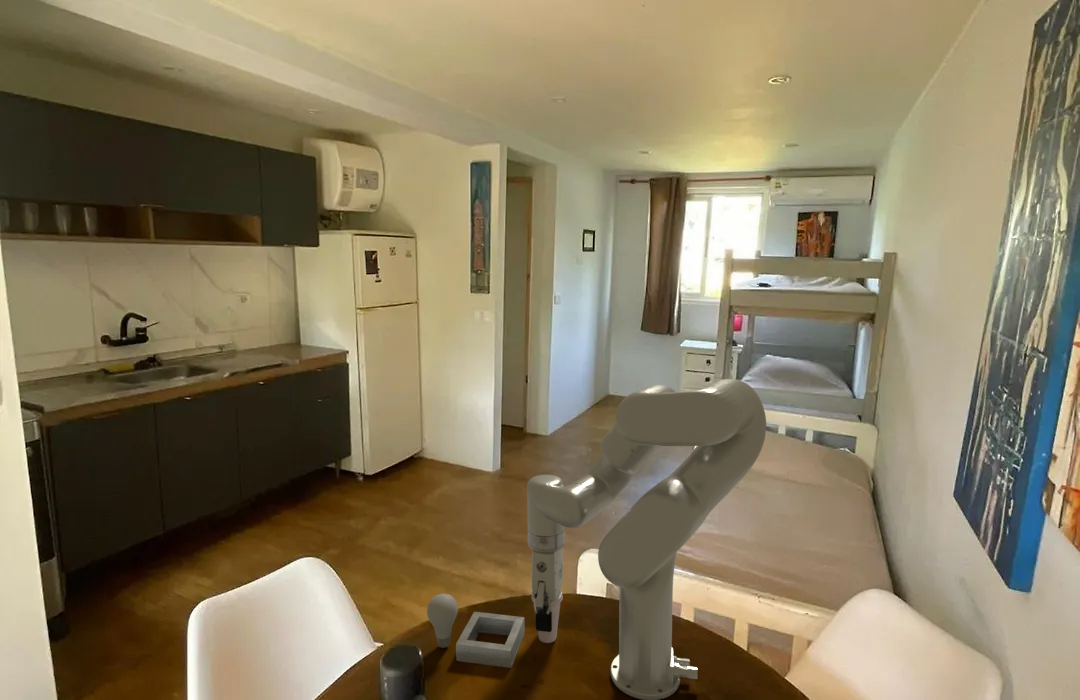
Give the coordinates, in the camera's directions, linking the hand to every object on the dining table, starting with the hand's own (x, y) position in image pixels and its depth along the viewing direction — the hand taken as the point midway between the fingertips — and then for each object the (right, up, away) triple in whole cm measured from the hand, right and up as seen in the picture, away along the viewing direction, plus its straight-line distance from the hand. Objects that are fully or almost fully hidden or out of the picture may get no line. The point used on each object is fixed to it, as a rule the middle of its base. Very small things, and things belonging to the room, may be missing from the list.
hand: (547, 619), depth 115 cm
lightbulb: (-21, -5, -2) cm, 22 cm away
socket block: (-11, -4, -2) cm, 12 cm away
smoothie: (0, -4, +1) cm, 4 cm away
